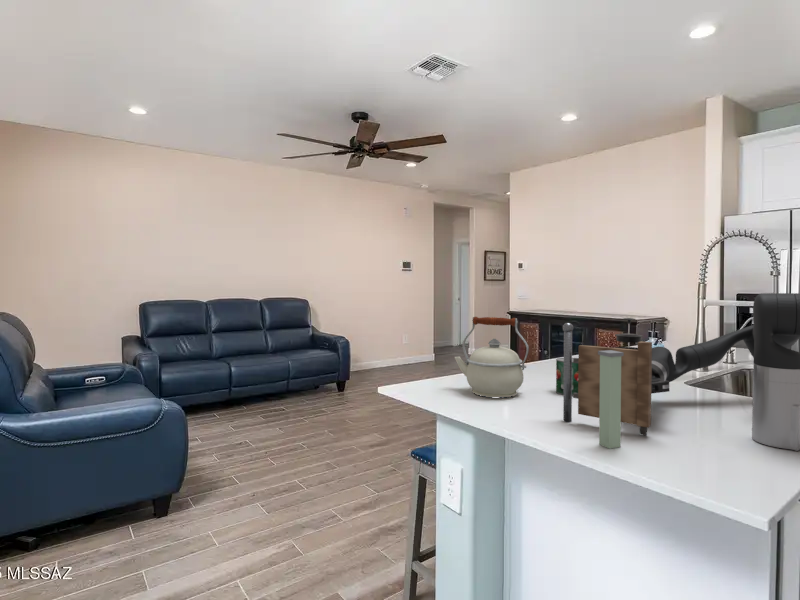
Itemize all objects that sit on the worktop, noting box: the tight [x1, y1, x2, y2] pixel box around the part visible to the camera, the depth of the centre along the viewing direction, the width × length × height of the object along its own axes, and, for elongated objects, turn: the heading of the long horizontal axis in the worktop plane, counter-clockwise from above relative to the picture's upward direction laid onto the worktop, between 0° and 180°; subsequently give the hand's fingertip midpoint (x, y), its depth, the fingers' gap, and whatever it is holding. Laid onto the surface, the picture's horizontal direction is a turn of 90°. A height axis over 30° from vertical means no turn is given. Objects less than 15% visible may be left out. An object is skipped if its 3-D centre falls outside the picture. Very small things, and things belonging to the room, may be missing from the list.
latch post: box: [598, 350, 624, 450], centre depth 99 cm, size 4×4×21 cm
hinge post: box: [562, 322, 574, 423], centre depth 117 cm, size 3×3×26 cm
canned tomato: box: [555, 357, 578, 397], centre depth 147 cm, size 8×8×11 cm
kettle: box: [454, 316, 530, 398], centre depth 148 cm, size 25×18×25 cm
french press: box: [614, 317, 644, 350], centre depth 163 cm, size 12×9×23 cm
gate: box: [572, 341, 653, 436], centre depth 110 cm, size 18×3×22 cm, turn 48°
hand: (632, 391), depth 108 cm, fingers closed
